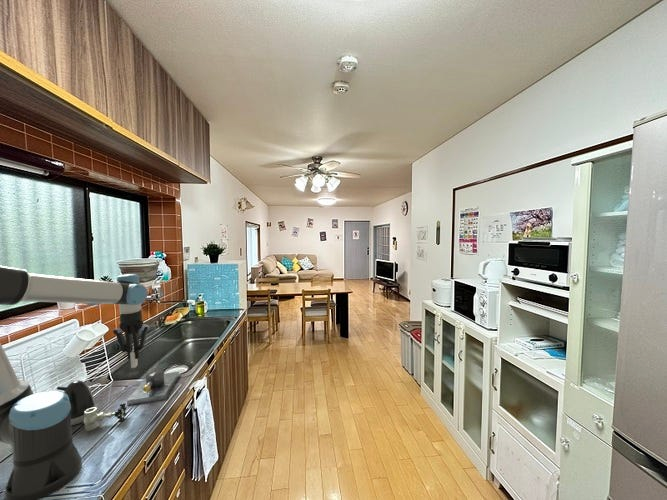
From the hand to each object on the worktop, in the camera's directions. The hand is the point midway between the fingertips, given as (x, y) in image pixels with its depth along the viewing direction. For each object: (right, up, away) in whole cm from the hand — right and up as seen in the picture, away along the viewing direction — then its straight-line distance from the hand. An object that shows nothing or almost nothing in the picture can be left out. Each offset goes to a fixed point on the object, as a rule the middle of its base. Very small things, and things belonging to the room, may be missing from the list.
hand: (134, 366), depth 120 cm
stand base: (+3, -14, +9) cm, 17 cm away
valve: (0, -16, -15) cm, 22 cm away
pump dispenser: (-13, -16, -12) cm, 24 cm away
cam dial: (+4, -12, +6) cm, 14 cm away
